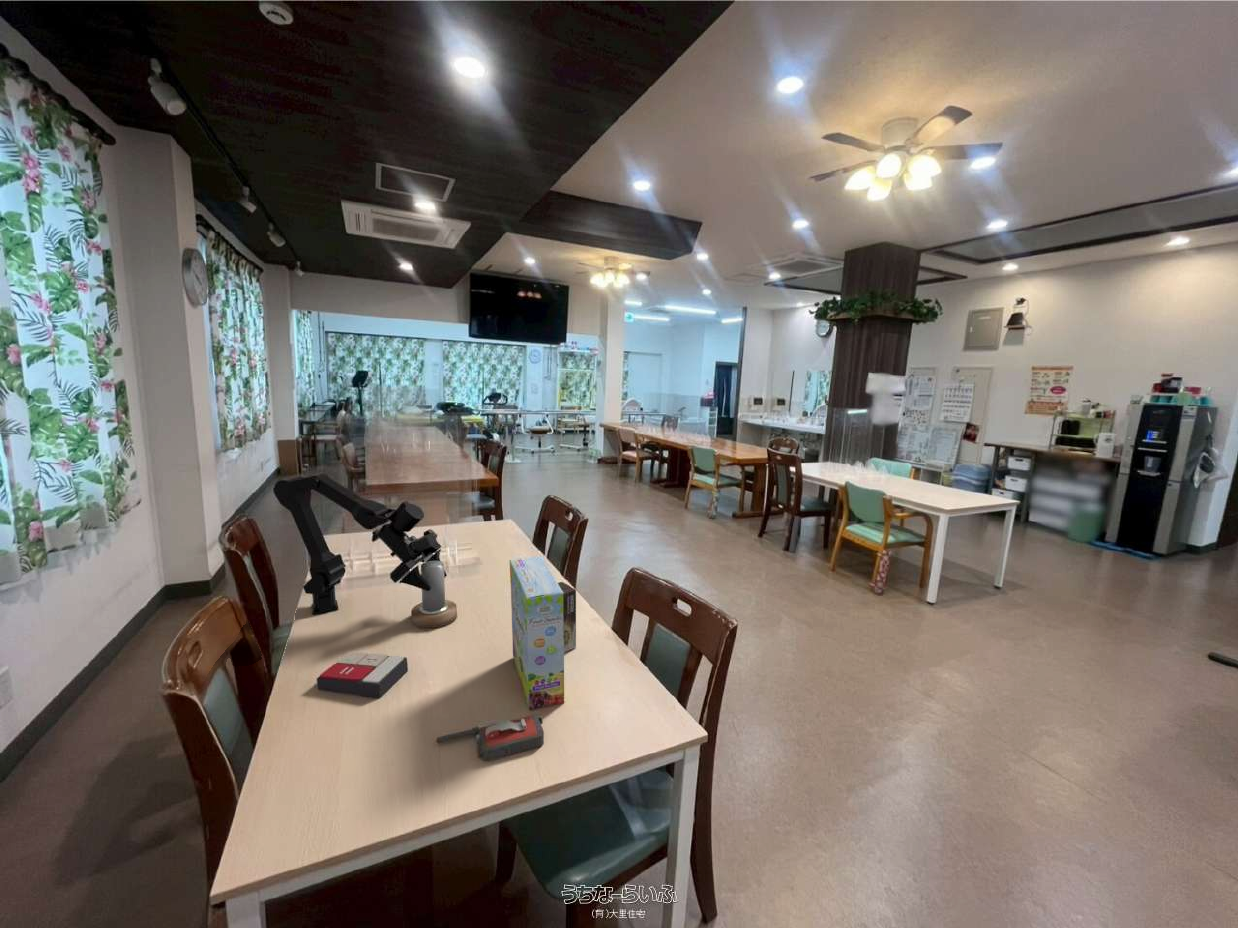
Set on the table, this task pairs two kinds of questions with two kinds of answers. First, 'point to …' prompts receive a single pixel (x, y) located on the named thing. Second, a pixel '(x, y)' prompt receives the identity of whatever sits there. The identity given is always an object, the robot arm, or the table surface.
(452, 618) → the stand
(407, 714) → the table surface
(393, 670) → the calculator
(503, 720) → the walkie-talkie
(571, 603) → the coffee box
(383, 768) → the table surface
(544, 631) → the snack box
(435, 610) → the grey cylinder
